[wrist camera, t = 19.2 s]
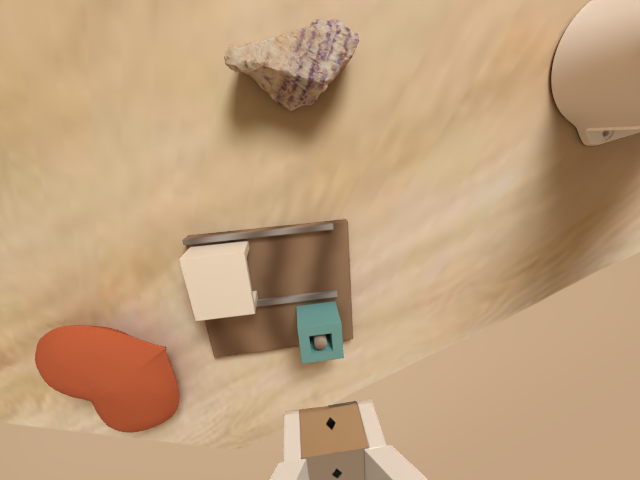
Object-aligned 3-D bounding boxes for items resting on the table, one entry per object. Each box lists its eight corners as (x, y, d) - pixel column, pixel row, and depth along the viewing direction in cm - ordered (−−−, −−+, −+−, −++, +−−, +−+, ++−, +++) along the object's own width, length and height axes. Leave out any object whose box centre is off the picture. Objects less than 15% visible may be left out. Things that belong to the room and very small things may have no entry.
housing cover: (248, 240, 37) (244, 252, 33) (257, 297, 39) (255, 313, 36) (189, 247, 36) (179, 259, 32) (203, 303, 39) (195, 321, 35)
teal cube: (335, 301, 41) (341, 323, 36) (337, 333, 43) (343, 358, 38) (296, 306, 41) (297, 328, 36) (300, 338, 43) (301, 363, 38)
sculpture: (210, 413, 38) (127, 458, 41) (223, 373, 44) (149, 415, 47) (85, 310, 32) (-6, 372, 34) (120, 279, 38) (40, 334, 40)
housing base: (346, 218, 38) (356, 234, 33) (351, 333, 45) (361, 363, 39) (187, 234, 37) (169, 254, 31) (216, 351, 43) (205, 385, 38)
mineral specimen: (250, 122, 34) (242, 120, 28) (228, 50, 31) (214, 32, 25) (358, 94, 34) (373, 86, 28) (345, 20, 31) (359, -5, 25)
